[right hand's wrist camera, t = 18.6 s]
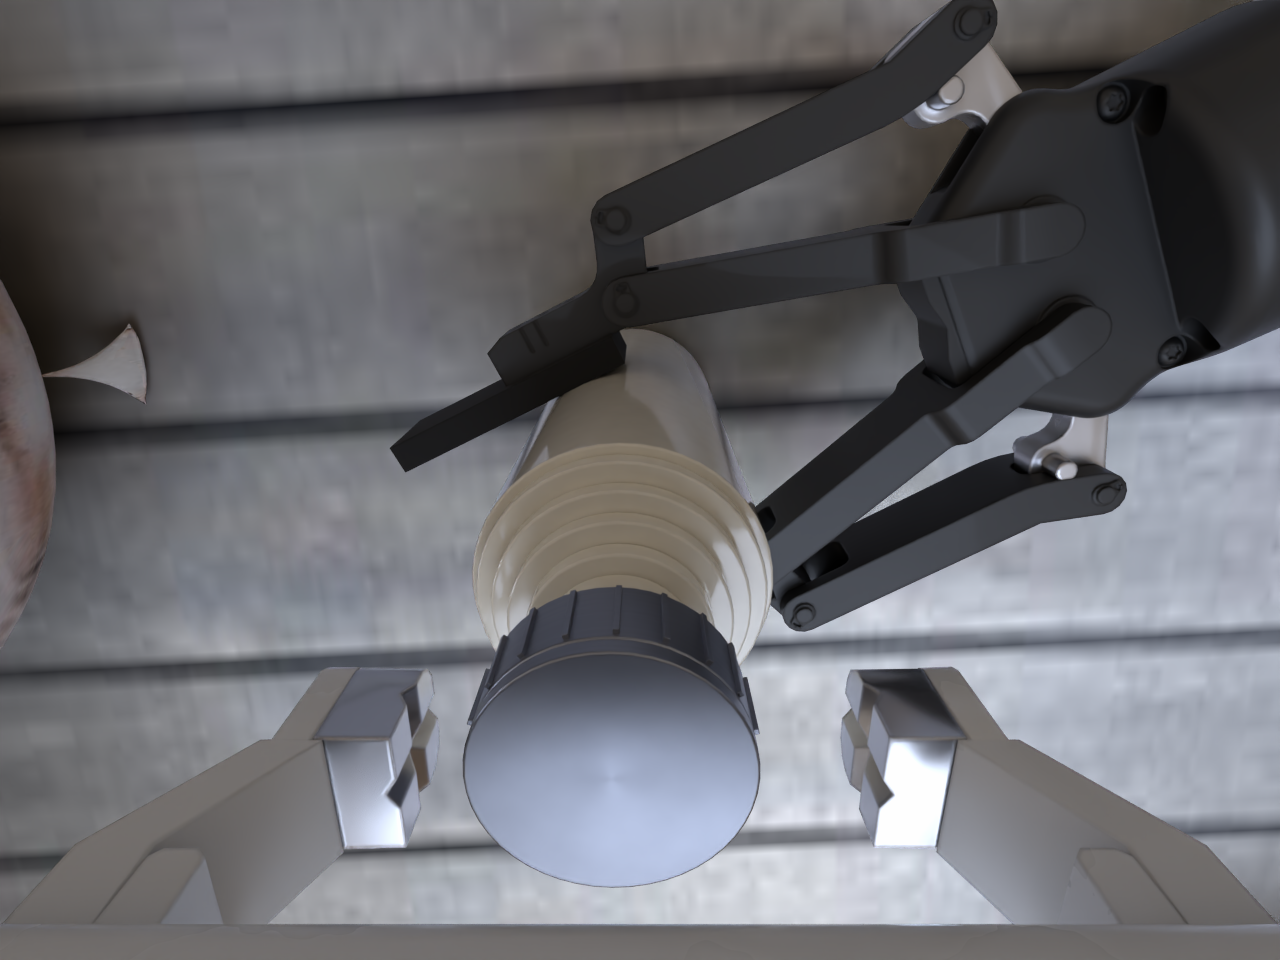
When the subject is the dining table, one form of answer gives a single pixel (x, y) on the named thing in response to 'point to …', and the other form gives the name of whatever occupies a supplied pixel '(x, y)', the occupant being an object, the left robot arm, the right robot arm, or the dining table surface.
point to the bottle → (628, 502)
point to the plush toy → (39, 448)
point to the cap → (613, 740)
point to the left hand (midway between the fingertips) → (474, 537)
